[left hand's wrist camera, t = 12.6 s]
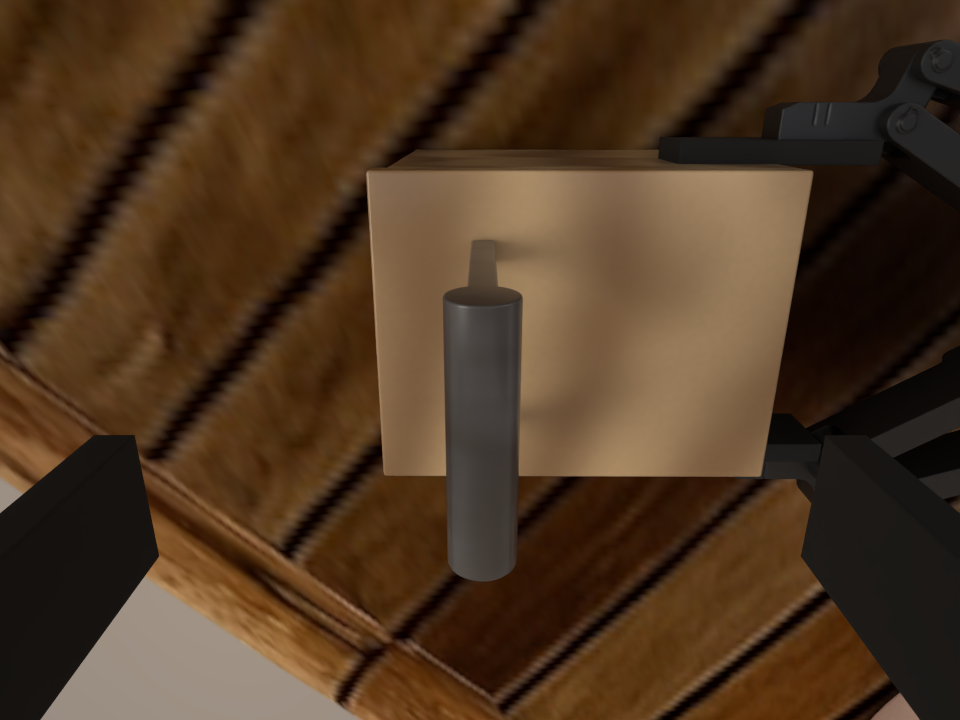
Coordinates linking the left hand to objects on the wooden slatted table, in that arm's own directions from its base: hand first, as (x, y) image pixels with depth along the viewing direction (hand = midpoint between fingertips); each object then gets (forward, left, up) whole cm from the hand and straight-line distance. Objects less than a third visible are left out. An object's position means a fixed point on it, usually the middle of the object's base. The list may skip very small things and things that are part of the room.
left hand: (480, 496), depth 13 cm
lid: (-2, +2, -10) cm, 10 cm away
